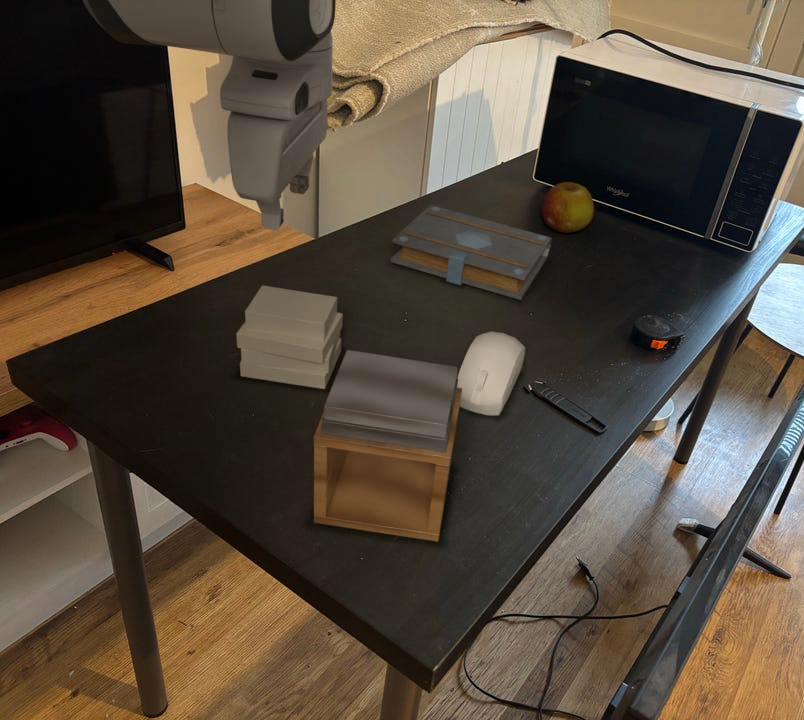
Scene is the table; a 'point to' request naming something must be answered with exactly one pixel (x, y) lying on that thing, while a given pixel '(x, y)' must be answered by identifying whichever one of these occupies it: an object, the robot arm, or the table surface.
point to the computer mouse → (490, 372)
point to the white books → (289, 356)
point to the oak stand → (386, 446)
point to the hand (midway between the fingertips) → (286, 208)
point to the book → (472, 251)
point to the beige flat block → (291, 313)
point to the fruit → (568, 207)
